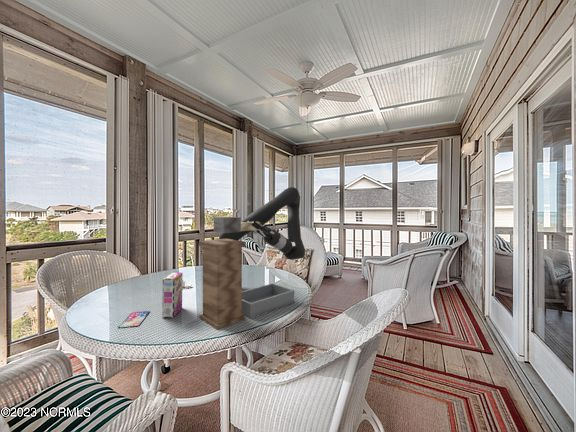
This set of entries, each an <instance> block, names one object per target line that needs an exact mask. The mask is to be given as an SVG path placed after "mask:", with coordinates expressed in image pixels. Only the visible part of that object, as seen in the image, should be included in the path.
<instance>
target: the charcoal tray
mask: <svg viewBox="0 0 576 432" xmlns="http://www.w3.org/2000/svg"><path fill="white" fill-rule="evenodd" d="M294 303H295V290H294V289H291V288H287V287H284V286H281V285H280V284H276V283H269V284H265V285H261V286H256V287H253V288H250V289H247V290H242V315H243V316H245V318H246V317H247V318H248V319H253V318H256V317H258V316H261V315H264V314H267V313H270V312H273V311H275V309H276V310H277V309H281V308H283V307H286V305H287V306H289V305H292V304H294Z"/></svg>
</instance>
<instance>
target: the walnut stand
mask: <svg viewBox="0 0 576 432" xmlns="http://www.w3.org/2000/svg"><path fill="white" fill-rule="evenodd" d="M198 246H199V247H202V314H199V319H201V320H202V321H203V322H204V323H206V324H207V325H209V326H211V327H212V328H214V329H215V330H219V329H222V328H225V327H226V326H227V327H228V326H231V325H232V324H236V323H238V322H241V321H244V320H246V316H245V315H243V314H242V291H243V289H242V282H243V278H242V277H243V273H242V271H243V268H242V266H243V258H242V257H243V254H242V253H243V248H246V241H243V240H232V239H219V238H218V239H208V240H207V239H205V240H199V241H198Z"/></svg>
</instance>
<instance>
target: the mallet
mask: <svg viewBox="0 0 576 432" xmlns="http://www.w3.org/2000/svg"><path fill="white" fill-rule="evenodd" d="M241 221H242V218H241V217H238V216H213V232H214V233H220V234H221V233H232V232H241V231H250V230H258V229H256V228H255V227H253V226H252V223H253V222H241ZM257 223H258V224H260V222H257Z"/></svg>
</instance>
